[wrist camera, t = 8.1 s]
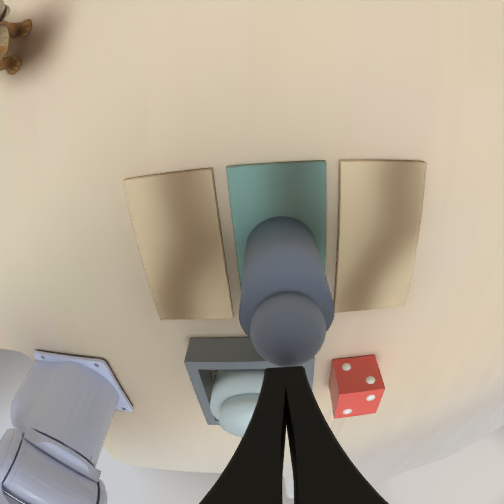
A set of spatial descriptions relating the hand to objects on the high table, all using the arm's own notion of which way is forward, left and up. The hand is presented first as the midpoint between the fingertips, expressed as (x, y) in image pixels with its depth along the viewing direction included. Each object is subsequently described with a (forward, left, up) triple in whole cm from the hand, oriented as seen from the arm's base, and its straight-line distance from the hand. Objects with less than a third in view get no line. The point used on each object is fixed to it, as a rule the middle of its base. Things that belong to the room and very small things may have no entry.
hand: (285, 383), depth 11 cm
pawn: (0, +1, -9) cm, 9 cm away
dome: (-2, -11, -9) cm, 14 cm away
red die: (+6, -11, -9) cm, 16 cm away
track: (0, +1, -9) cm, 9 cm away
